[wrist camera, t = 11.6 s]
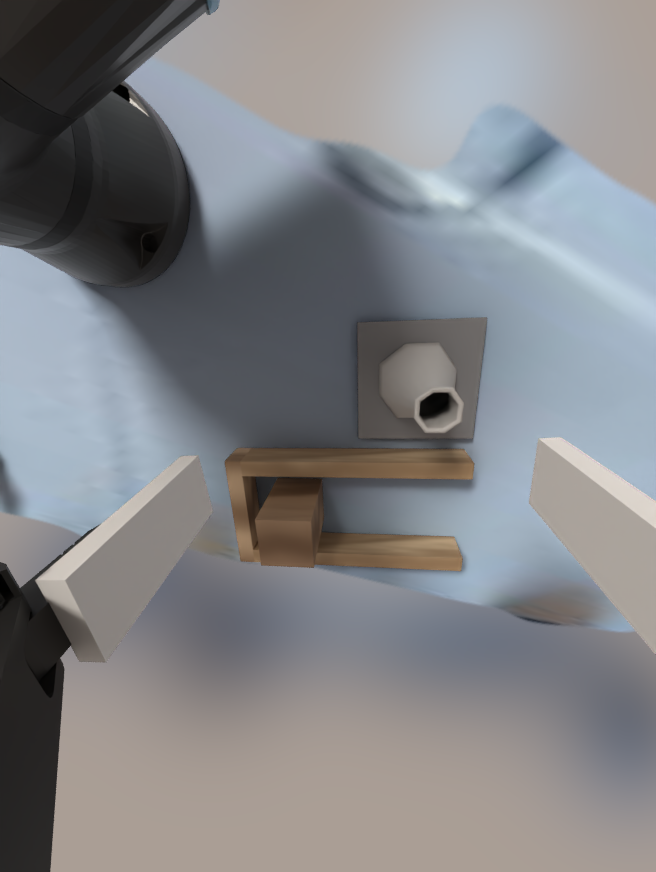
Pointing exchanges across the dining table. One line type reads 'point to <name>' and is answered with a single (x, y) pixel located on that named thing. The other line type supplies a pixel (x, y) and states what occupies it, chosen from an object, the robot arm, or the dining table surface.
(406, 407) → the flask
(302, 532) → the walnut block
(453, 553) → the rack
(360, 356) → the coaster
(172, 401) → the dining table surface
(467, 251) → the dining table surface
